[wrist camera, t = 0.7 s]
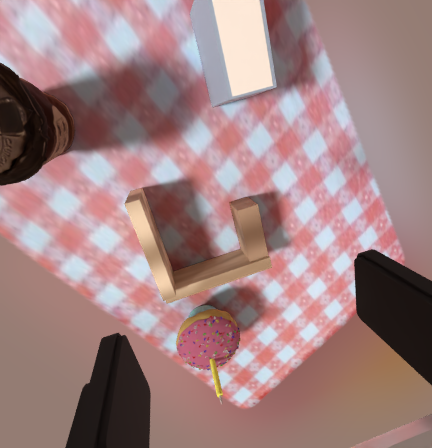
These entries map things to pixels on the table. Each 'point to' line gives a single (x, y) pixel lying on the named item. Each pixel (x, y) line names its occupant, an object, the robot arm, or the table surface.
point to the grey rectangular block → (233, 48)
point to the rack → (207, 270)
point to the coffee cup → (29, 128)
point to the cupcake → (208, 340)
